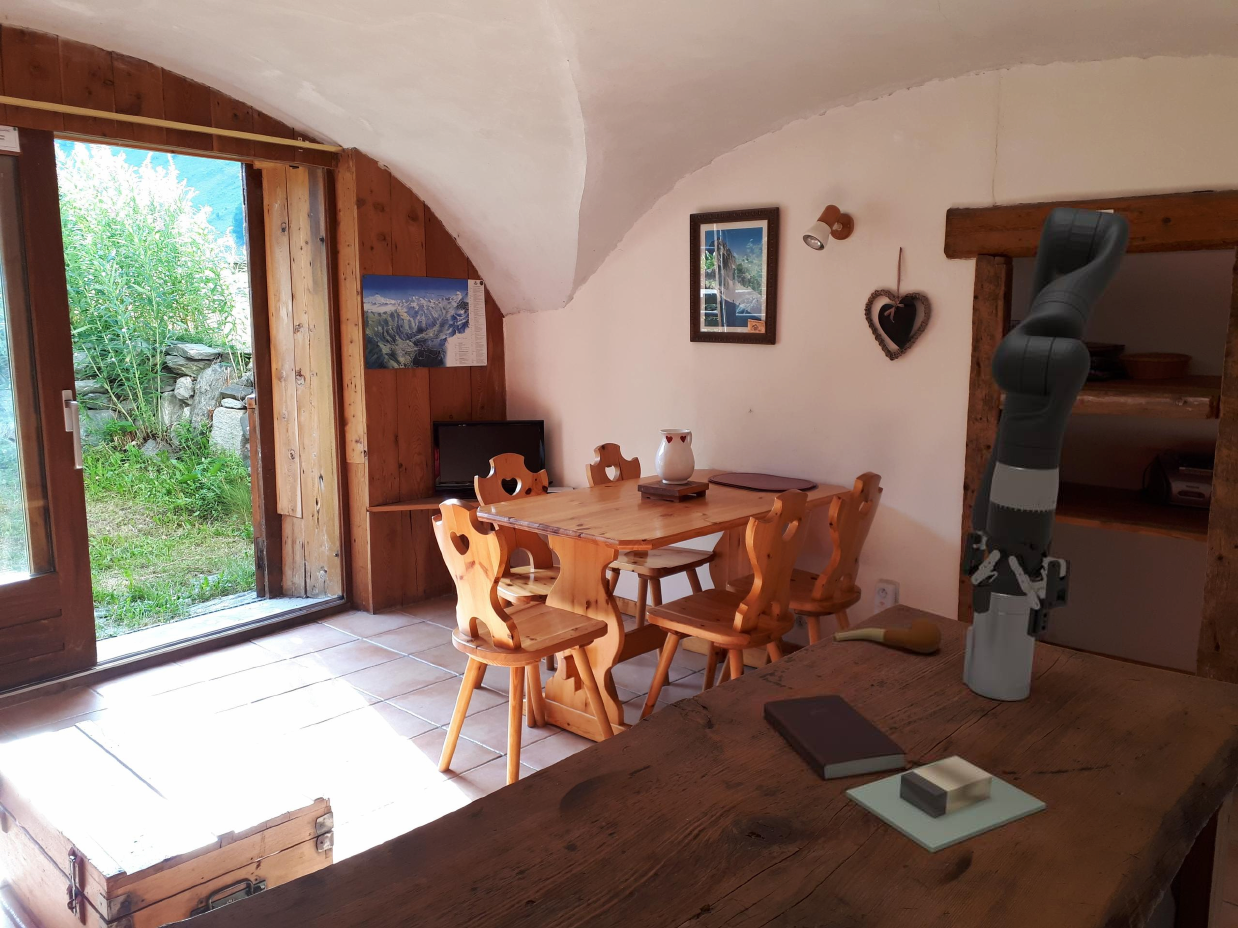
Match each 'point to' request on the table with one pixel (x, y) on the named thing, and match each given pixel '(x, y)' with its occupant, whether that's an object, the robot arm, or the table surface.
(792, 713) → the book
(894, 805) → the rubber mat
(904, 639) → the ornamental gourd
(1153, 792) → the table surface
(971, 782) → the cream rectangular block
